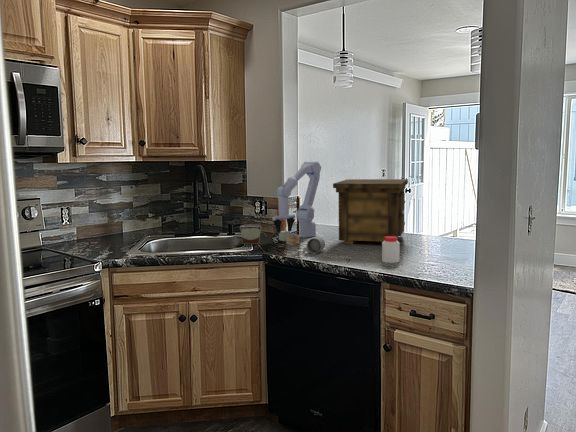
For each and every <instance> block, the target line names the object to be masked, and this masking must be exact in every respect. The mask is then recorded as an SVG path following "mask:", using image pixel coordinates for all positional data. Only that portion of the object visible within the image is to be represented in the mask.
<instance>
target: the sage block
mask: <svg viewBox="0 0 576 432" xmlns="http://www.w3.org/2000/svg"><path fill="white" fill-rule="evenodd" d="M287 235H291V231H288V230H280V233H278V241H280V242H281V241H282V242H287Z"/></svg>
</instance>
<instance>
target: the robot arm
mask: <svg viewBox="0 0 576 432" xmlns="http://www.w3.org/2000/svg"><path fill="white" fill-rule="evenodd" d="M321 171H322V166H321V163H320V162H319V161H304V162H303V163H302V164H301V165H300V167H299V169H298V170H297V172H296V173H295V174H294V176H292V177H288V178H287V179H286V181H285V182H284V183H283V184H282V185H281V186H279V187H278V188H277V189H276V192H275V194H276V196H277V200H278V215H275V216H272V217H271V218H272V222H273V225H274V226H275V229H276V233H278V234H279V233H280V231H281V225H282V220H286V223H287V231H289V232H292V229H293V226H294V223H295V222H296V219H297V221H298V227H299V228H298V230H299V231H298V232H299V234H298V235H300V238H303V239H305V238H314V237H318V235H317V231H316V230H317V228H316V227H317V226H316V222H315V220H314V218H315V208H314V207H313V204H314V200H315V197H316V192H317V191H318V186H319V182H320V179H321V174H320V173H321ZM305 175H307V176H308V178H309V181H308V185H307V188H306V191H305V196H304V199H303V202H302V204H301V205H300V206H299V208H298V210H297V211H296V214H290V204H289V203H290V202H289V199H290V198H289V197H290V196H291V194H292V191H293V190H294V188H296V186H297V185H298V181H300V180H301V179H302V178H303V177H305Z"/></svg>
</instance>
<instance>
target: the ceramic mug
mask: <svg viewBox="0 0 576 432" xmlns="http://www.w3.org/2000/svg"><path fill="white" fill-rule="evenodd" d="M325 247H326V242H325V240H324V239H323V238H322V237H321V236H320V237H319V236H314V237H311V238H310V239H309V240H308V241H307V243H306V247H304V248H303V249H302V250H303V252H304V253H305V252H307V251H308V252H309V253H311V254H313V253H316V254H319V253H321V252H322V251H323V250H324V249H325Z"/></svg>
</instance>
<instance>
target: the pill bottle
mask: <svg viewBox="0 0 576 432" xmlns="http://www.w3.org/2000/svg"><path fill="white" fill-rule="evenodd" d="M400 248H401V247H400V241H399V240H398V241H397V237H396V236H385V240H384V241H383V242H381V261H382V262H383V263H386V264H397V263H400V255H401V254H400Z"/></svg>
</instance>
